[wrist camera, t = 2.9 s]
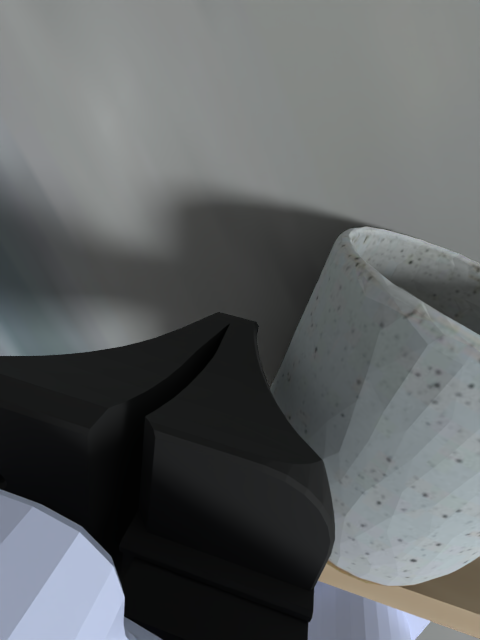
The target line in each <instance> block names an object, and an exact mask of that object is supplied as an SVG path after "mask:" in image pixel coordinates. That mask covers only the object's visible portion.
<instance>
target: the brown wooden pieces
mask: <svg viewBox="0 0 480 640" xmlns="http://www.w3.org/2000/svg"><path fill="white" fill-rule="evenodd" d="M318 581H320V582H323V583H326V584H328V585H331V586H334V587H337V588H340V589H342V590H345V591H348V592H351V593H354V594H356V595H359V596H362V597H365V598H368V599H370V600H373V601H376V602H379V603H381V604H384V605H387V606H390V607H393V608H395V609H398V610H401V611H404V612H407V613H409V614H412V615H415V616H418V617H420V618H423V619H426V620H429V621H432V622H434V623H437V624H440V625H443V626H446V627H448V628H451V629H454V630H457V631H460V632H462V633H465V634H468V635H471V636H473V637H476V638H479V639H480V556H479V557H478V558H476V559H475V560H473V561H472V562H470V563H468V564H467V565H465V566H463V567H462V568H460V569H458V570H456V571H454V572H452V573H450V574H448V575H444V576H441V577H438V578H435V579H432V580H428V581H425V582H422V583H419V584H416V585H409V586H398V587H389V586H382V585H376V584H369V583H365V582H362V581H360V580H357V579H355V578H353V577H350V576H348V575H345V574H343V573H341V572H339V571H337V570H336V569H334V568H333V567H331V566H329V565H328V564H326V565H325V567H324V569H323V571H322V573H321V575H320V577H319V579H318Z"/></svg>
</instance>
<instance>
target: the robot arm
mask: <svg viewBox="0 0 480 640" xmlns="http://www.w3.org/2000/svg"><path fill="white" fill-rule="evenodd" d="M258 327H259V326H258V324H257V323H256V322H254V321H250V320H247V319H243V318H239V317H235V316H231V315H228V314H224V313H220V312H218V313H215V314H213V315H210V316H208V317H206V318H204V319H202V320H199V321H197V322H195V323H193V324H190V325H188V326H186V327H183V328H181V329H178V330H176V331H173V332H170V333H167V334H165V335H162V336H159V337H156V338H153V339H150V340H146V341H143V342H139V343H135V344H131V345H127V346H122V347H117V348H111V349H105V350H99V351H93V352H85V353H75V354H63V355H48V356H0V640H415V639H416V638H417V637H418V635H419V634H420V633H421V632H422V631H423V630H424V628H425V627H426V626H427V625H428V624H429V623H430V621H429V620H426V619H423V618H420V617H418V616H415V615H412V614H409V613H407V612H404V611H401V610H398V609H395V608H393V607H390V606H387V605H384V604H381V603H379V602H376V601H373V600H370V599H368V598H365V597H362V596H359V595H356V594H354V593H351V592H348V591H345V590H342V589H340V588H337V587H334V586H331V585H328V584H326V583H323V582H320V581H318V579H319V577H320V575H321V573H322V571H323V569H324V567H325V565H326V563H327V561H328V559H329V557H330V555H331V553H332V549H333V545H334V541H335V518H334V510H333V503H332V497H331V491H330V486H329V481H328V477H327V472H326V468H325V464H324V462H323V460H322V459H321V458H320V457H319V456H318V455H317V453H316V452H315V451H314V450H313V449H312V448H311V447H310V446H309V445H308V444H307V443H306V442H305V441H304V440H303V439H302V438H301V437H300V435H299V434H298V433H297V432H296V431H295V429H294V428H293V427H292V425H291V424H290V423H289V421H288V420H287V418H286V417H285V415H284V414H283V412H282V411H281V409H280V407H279V406H278V404H277V402H276V400H275V398H274V396H273V394H272V392H271V390H270V388H269V386H268V383H267V381H266V378H265V375H264V372H263V369H262V366H261V362H260V358H259V353H258V347H257V332H258Z"/></svg>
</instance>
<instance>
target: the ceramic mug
mask: <svg viewBox="0 0 480 640" xmlns="http://www.w3.org/2000/svg"><path fill="white" fill-rule="evenodd" d="M270 390H271V392H272V394H273V396H274V398H275V400H276V402H277V404H278V406H279V407H280V409H281V411H282V412H283V414H284V415H285V417H286V418H287V420H288V421H289V423H290V424H291V425H292V427H293V428H294V429H295V431H296V432H297V433H298V434H299V435H300V437H301V438H302V439H303V440H304V441H305V442H306V443H307V444H308V445H309V446H310V447H311V448H312V449H313V450H314V451H315V452H316V453H317V455H318V456H319V457H320V458H321V459H322V460H323V462H324V464H325V468H326V472H327V477H328V481H329V486H330V491H331V497H332V503H333V510H334V518H335V541H334V545H333V549H332V553H331V555H330V557H329V559H328V561H327V563H326V564H328V565H329V566H331V567H333V568H334V569H336V570H337V571H339V572H341V573H343V574H345V575H348V576H350V577H353V578H355V579H357V580H360V581H362V582H365V583H369V584H376V585H382V586H389V587H398V586H409V585H416V584H419V583H422V582H425V581H428V580H432V579H435V578H438V577H441V576H444V575H448V574H450V573H452V572H454V571H456V570H458V569H460V568H462V567H463V566H465V565H467V564H468V563H470V562H472V561H473V560H475V559H476V558H478V557H479V556H480V263H478V262H475V261H473V260H471V259H469V258H467V257H465V256H463V255H461V254H458V253H456V252H453V251H451V250H448V249H445V248H442V247H439V246H437V245H434V244H431V243H428V242H426V241H424V240H422V239H416V238H413V237H411V236H408V235H403V234H399V233H395V232H392V231H388V230H385V229H377V228H372V227H367V226H366V227H360V228H350V229H348V230H346V231H344V232H343V233H342V234H340V235H339V237H338V238H337V240H336V241H335V243H334V245H333V247H332V250H331V252H330V254H329V257H328V259H327V261H326V264H325V266H324V268H323V270H322V273H321V275H320V277H319V280H318V282H317V284H316V286H315V289H314V291H313V293H312V295H311V297H310V300H309V302H308V304H307V306H306V309H305V311H304V313H303V315H302V318H301V320H300V322H299V324H298V327H297V329H296V331H295V333H294V336H293V338H292V341H291V343H290V346H289V348H288V350H287V353H286V355H285V357H284V360H283V362H282V364H281V366H280V368H279V370H278V373H277V375H276V377H275V379H274V381H273V383H272V386H271V388H270Z"/></svg>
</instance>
